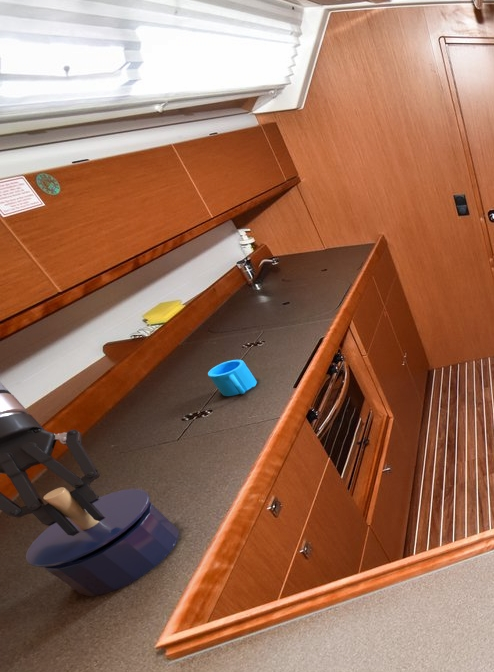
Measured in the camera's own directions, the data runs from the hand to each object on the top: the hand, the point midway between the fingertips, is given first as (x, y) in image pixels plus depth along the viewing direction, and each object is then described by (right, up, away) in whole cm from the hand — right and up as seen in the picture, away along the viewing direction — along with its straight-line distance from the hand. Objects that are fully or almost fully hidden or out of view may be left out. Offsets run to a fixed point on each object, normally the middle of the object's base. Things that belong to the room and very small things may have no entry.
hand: (87, 525), depth 72 cm
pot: (-3, -11, +9) cm, 15 cm away
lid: (-3, -2, +3) cm, 5 cm away
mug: (-24, +14, +53) cm, 59 cm away
